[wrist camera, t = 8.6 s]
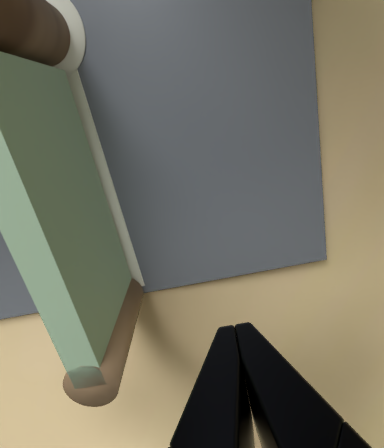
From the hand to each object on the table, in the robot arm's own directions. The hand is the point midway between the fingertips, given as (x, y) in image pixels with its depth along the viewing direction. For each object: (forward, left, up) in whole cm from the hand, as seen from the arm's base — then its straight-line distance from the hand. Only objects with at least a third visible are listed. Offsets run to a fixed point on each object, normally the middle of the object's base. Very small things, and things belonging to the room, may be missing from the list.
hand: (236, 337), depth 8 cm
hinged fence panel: (-2, -6, -8) cm, 10 cm away
